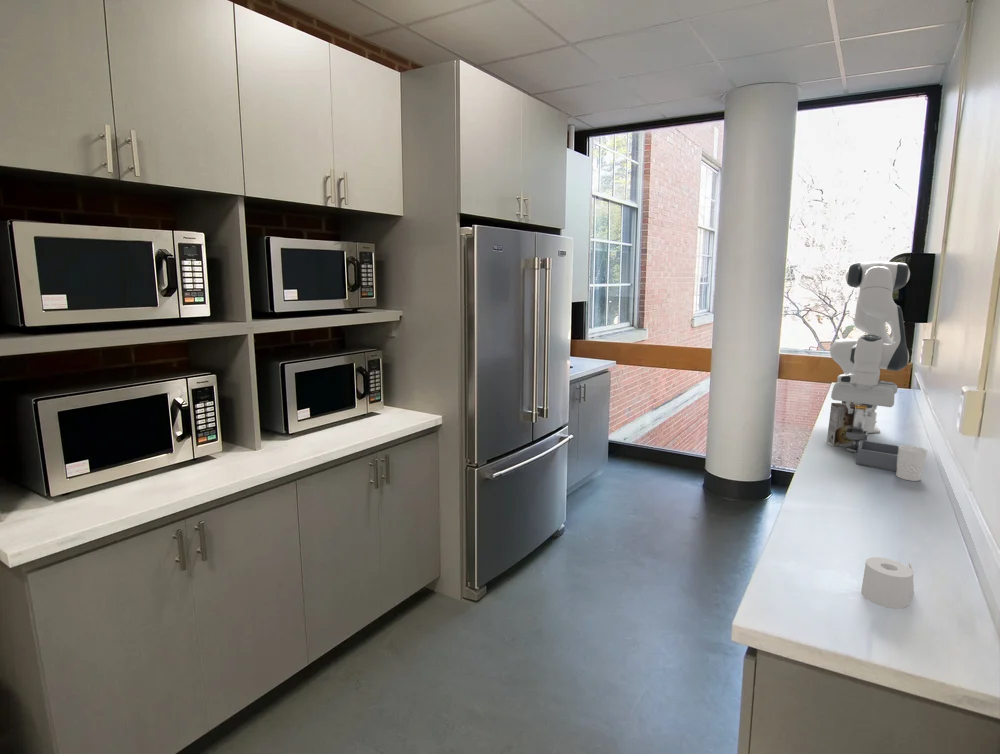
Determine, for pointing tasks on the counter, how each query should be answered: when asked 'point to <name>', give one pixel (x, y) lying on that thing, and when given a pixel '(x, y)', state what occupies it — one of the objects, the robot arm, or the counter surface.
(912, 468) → the white cup
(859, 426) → the gold-capped metal cylinder
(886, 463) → the bin
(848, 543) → the counter surface
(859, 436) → the grey capsule holder
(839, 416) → the coffee box
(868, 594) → the toilet paper
